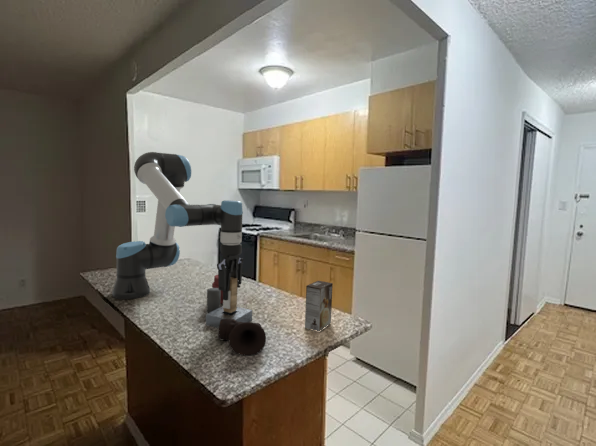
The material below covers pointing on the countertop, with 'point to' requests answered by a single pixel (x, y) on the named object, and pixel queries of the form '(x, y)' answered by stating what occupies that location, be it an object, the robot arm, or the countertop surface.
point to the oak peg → (232, 295)
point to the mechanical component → (216, 285)
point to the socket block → (228, 316)
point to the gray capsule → (213, 299)
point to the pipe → (242, 336)
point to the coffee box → (318, 305)
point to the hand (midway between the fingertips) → (230, 306)
